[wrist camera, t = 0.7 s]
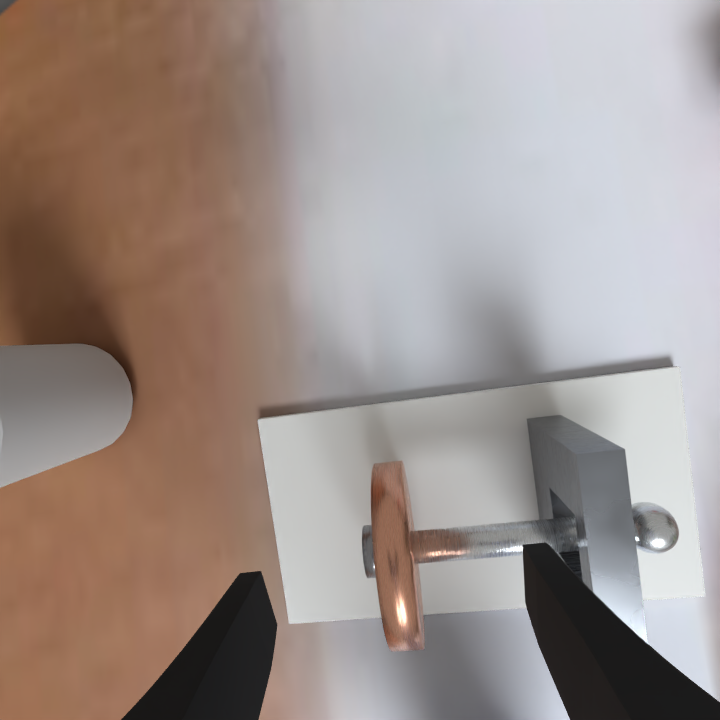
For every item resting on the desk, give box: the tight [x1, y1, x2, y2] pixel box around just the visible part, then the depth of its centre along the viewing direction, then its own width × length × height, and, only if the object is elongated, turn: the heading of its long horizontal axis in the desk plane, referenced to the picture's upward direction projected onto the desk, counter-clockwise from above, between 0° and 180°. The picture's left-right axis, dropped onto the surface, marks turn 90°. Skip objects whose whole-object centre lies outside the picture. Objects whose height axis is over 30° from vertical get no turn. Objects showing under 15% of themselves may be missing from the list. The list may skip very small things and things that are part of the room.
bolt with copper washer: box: [362, 460, 679, 651], centre depth 22 cm, size 9×16×9 cm, turn 98°
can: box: [0, 344, 133, 487], centre depth 24 cm, size 8×8×12 cm
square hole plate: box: [527, 415, 648, 644], centre depth 23 cm, size 10×2×8 cm, turn 8°
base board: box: [258, 366, 705, 624], centre depth 28 cm, size 14×26×1 cm, turn 98°
